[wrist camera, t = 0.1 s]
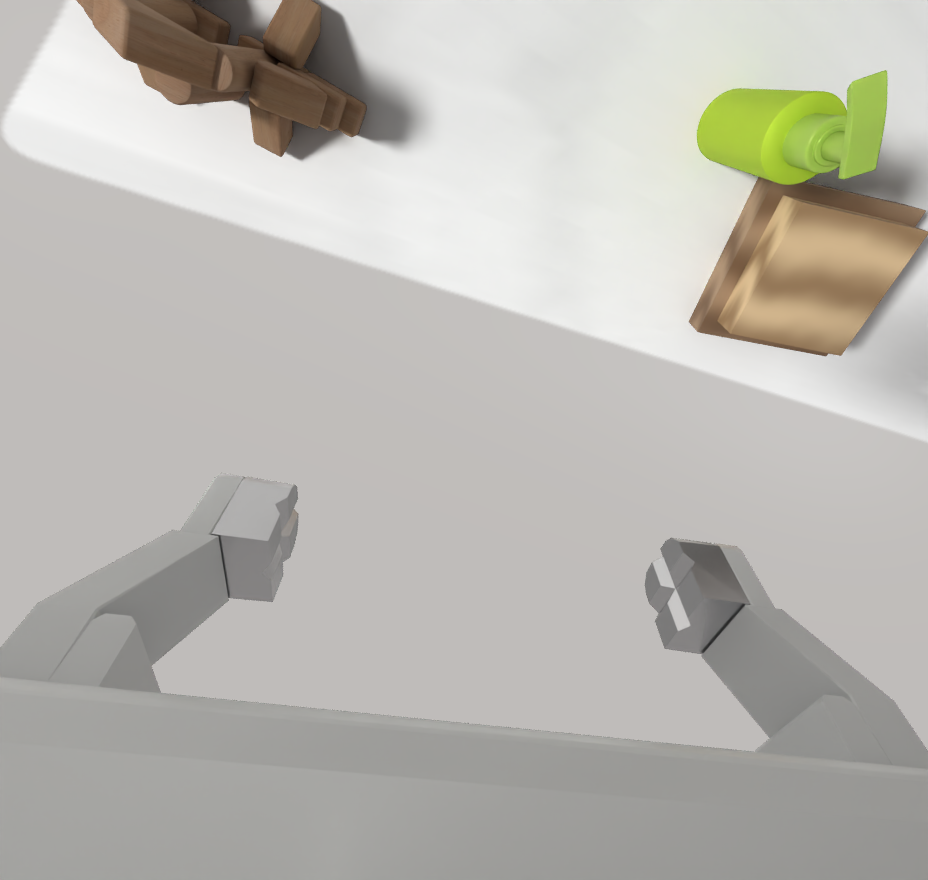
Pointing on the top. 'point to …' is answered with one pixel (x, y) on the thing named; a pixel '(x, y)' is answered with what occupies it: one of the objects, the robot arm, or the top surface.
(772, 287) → the oak top slab
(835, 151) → the soap dispenser
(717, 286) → the walnut base slab
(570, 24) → the top surface
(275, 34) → the wooden blocks
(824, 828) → the robot arm
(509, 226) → the top surface
